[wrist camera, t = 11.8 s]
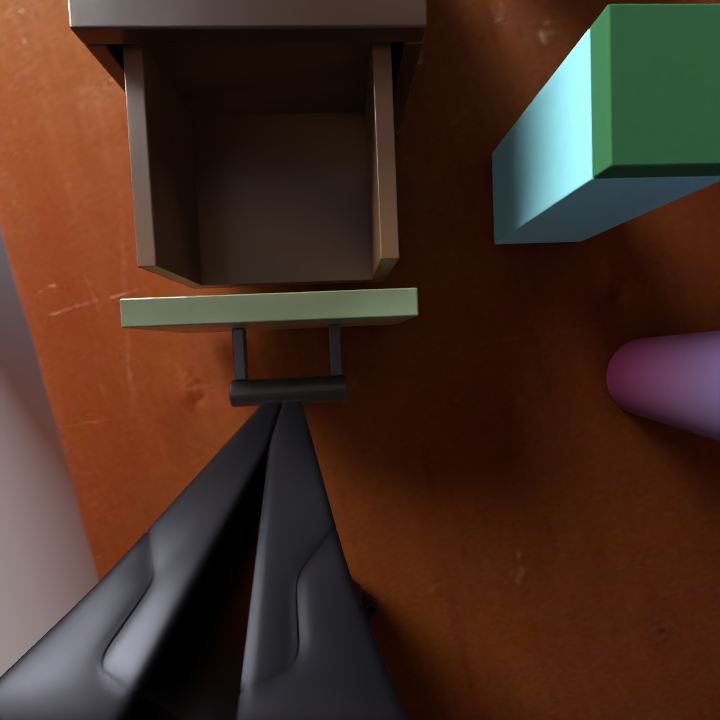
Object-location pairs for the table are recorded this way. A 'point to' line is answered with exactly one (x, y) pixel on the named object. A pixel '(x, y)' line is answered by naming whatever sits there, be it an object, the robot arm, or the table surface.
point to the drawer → (265, 193)
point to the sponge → (614, 127)
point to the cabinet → (255, 28)
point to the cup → (670, 380)
